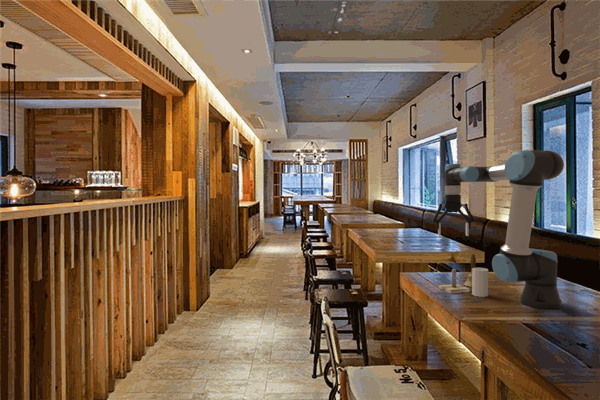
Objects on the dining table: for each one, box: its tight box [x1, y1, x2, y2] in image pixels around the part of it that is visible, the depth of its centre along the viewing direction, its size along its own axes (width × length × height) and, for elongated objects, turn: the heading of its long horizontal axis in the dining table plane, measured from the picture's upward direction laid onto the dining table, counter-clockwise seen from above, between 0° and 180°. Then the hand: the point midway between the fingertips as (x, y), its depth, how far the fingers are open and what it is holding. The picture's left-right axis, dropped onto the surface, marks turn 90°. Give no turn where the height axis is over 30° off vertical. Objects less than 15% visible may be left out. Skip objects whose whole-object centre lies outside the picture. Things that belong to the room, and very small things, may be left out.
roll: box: [471, 267, 489, 298], centre depth 188 cm, size 7×7×12 cm
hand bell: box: [463, 253, 477, 288], centre depth 206 cm, size 8×8×16 cm
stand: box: [438, 268, 471, 294], centre depth 197 cm, size 10×10×10 cm
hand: (453, 235), depth 210 cm, fingers open, 13 cm apart
